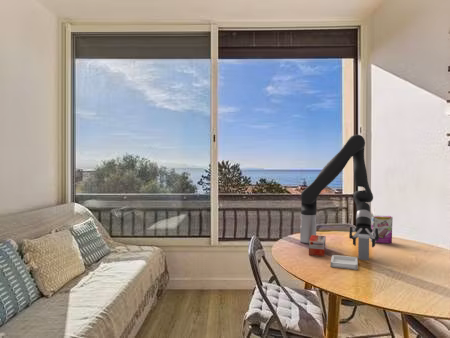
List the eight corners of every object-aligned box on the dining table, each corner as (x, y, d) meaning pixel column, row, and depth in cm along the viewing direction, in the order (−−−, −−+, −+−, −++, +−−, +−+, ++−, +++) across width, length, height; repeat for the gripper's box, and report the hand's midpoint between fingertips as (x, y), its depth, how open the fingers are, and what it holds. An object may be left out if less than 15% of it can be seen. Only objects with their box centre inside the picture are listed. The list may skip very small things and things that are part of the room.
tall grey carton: (358, 259, 169) (358, 236, 169) (358, 255, 175) (358, 233, 174) (368, 260, 167) (369, 236, 167) (368, 257, 173) (368, 234, 173)
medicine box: (324, 257, 174) (324, 241, 174) (308, 255, 177) (308, 240, 176) (325, 249, 188) (325, 235, 188) (310, 248, 191) (311, 234, 191)
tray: (330, 266, 158) (330, 262, 158) (332, 259, 170) (332, 254, 170) (357, 269, 153) (357, 265, 153) (357, 261, 165) (357, 257, 165)
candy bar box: (373, 243, 201) (373, 216, 200) (370, 241, 206) (370, 215, 205) (392, 243, 199) (392, 216, 199) (389, 241, 204) (389, 215, 204)
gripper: (349, 215, 181) (349, 240, 171) (378, 216, 176) (379, 243, 165) (349, 223, 186) (349, 248, 176) (377, 224, 181) (378, 250, 170)
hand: (363, 245), depth 170 cm, fingers open, 8 cm apart
